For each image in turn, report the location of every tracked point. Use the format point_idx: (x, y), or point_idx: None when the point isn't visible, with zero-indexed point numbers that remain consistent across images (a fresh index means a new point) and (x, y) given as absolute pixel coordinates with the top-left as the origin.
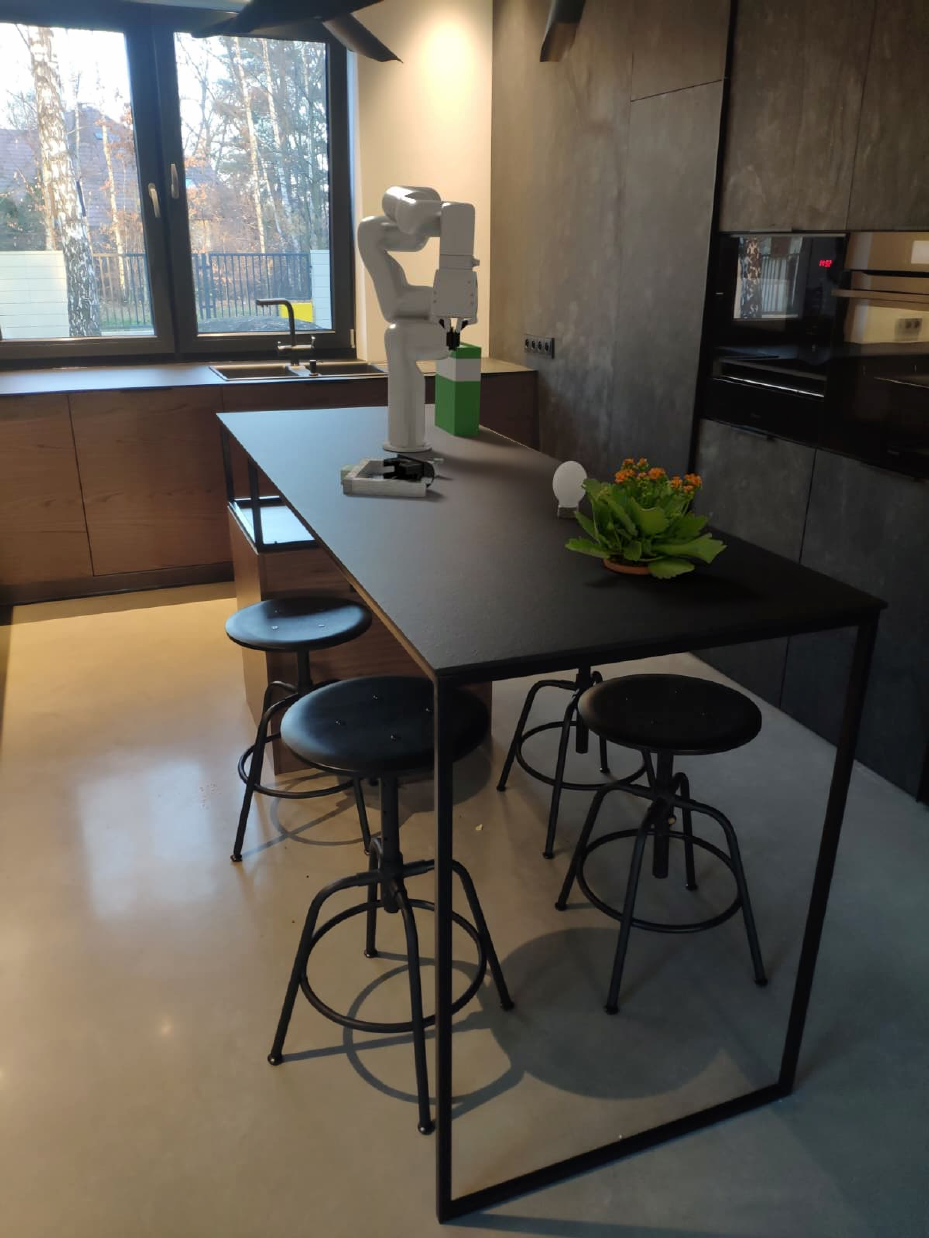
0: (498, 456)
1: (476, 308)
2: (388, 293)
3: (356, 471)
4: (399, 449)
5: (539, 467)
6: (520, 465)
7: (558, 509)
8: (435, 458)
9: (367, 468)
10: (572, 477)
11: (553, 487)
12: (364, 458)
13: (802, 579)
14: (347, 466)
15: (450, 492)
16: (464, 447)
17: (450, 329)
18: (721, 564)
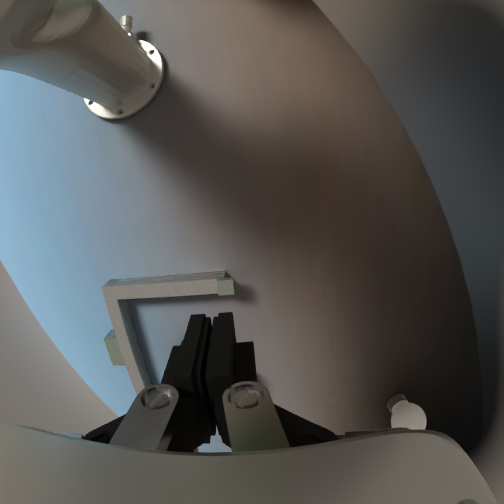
0: (302, 85)
1: (479, 477)
2: None
3: (134, 369)
4: (116, 118)
5: (383, 162)
6: (352, 152)
7: (389, 408)
8: (218, 283)
9: (125, 317)
10: None
11: (391, 425)
12: (104, 289)
13: (473, 433)
14: (109, 344)
15: (268, 364)
16: (224, 31)
17: (193, 442)
18: (452, 436)
